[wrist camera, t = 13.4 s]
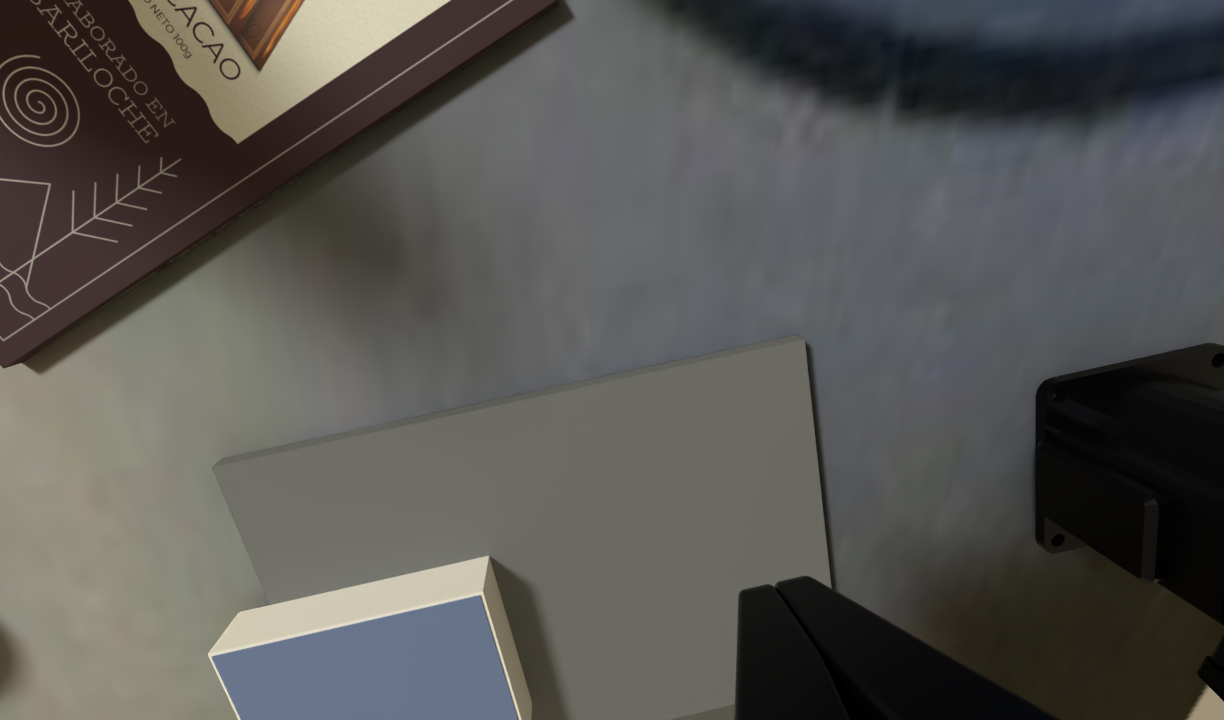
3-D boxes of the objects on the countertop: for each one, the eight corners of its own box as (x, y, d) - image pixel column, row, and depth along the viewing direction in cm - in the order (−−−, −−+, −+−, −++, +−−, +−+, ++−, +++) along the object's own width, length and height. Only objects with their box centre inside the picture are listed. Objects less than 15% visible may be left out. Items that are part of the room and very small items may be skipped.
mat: (797, 334, 19) (804, 339, 18) (833, 666, 23) (841, 678, 22) (222, 458, 18) (211, 467, 18) (355, 779, 22) (350, 795, 21)
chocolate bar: (-304, 56, 14) (331, -411, 13) (-252, 65, 15) (345, -371, 14) (3, 368, 17) (559, -2, 15) (32, 359, 17) (559, 8, 16)
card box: (529, 749, 19) (279, 809, 19) (532, 702, 21) (302, 756, 21) (482, 592, 18) (206, 655, 17) (489, 555, 19) (238, 612, 19)
